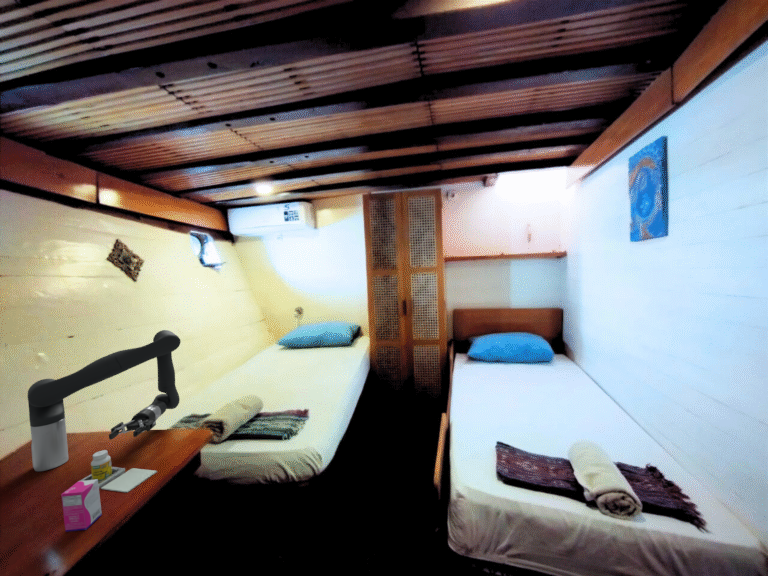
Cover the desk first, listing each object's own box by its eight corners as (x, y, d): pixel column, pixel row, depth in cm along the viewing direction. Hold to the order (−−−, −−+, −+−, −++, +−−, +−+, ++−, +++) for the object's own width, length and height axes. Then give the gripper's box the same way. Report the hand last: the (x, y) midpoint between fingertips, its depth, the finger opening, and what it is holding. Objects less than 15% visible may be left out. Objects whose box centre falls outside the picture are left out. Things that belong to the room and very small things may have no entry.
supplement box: (81, 516, 95) (78, 480, 94) (102, 514, 95) (99, 478, 95) (63, 532, 89) (60, 493, 89) (86, 530, 90) (82, 491, 89)
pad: (101, 489, 107) (101, 487, 107) (132, 469, 118) (132, 468, 118) (127, 492, 105) (127, 491, 105) (157, 471, 116) (157, 470, 116)
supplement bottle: (113, 472, 116) (111, 447, 116) (110, 480, 112) (108, 453, 111) (94, 477, 113) (91, 452, 113) (90, 486, 109) (88, 459, 109)
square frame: (78, 485, 109) (77, 481, 109) (105, 469, 118) (105, 465, 118) (98, 488, 107) (98, 484, 107) (125, 472, 116) (124, 468, 116)
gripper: (128, 410, 138) (101, 428, 122) (163, 406, 140) (141, 424, 124) (130, 426, 139) (103, 447, 123) (165, 423, 141) (143, 442, 125)
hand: (122, 435), depth 123 cm, fingers open, 8 cm apart
